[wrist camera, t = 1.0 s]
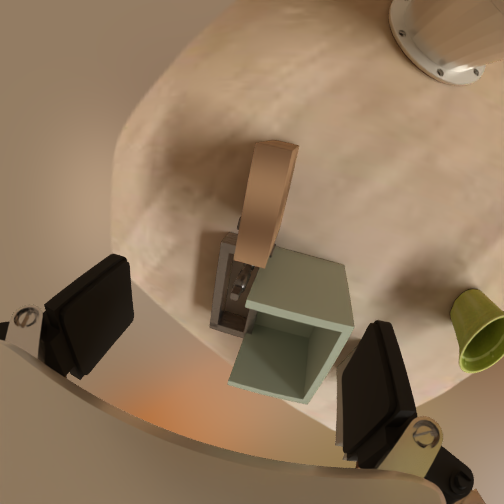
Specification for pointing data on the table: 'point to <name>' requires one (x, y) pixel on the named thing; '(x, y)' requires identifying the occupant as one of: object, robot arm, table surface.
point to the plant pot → (478, 331)
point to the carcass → (294, 326)
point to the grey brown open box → (218, 316)
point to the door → (264, 201)
